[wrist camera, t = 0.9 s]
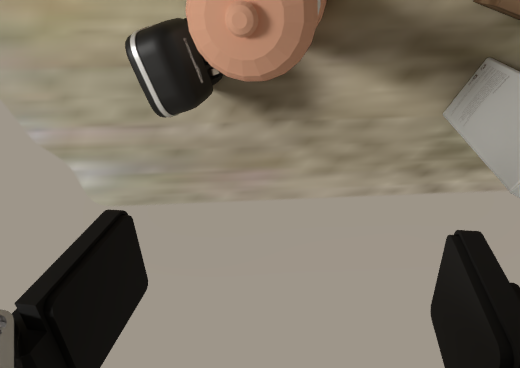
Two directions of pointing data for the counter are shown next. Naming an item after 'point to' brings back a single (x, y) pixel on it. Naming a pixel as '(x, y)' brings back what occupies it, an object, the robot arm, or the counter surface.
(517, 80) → the skincare box
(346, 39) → the counter surface
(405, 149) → the counter surface
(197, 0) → the salt shaker
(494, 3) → the box
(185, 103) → the battery charger
